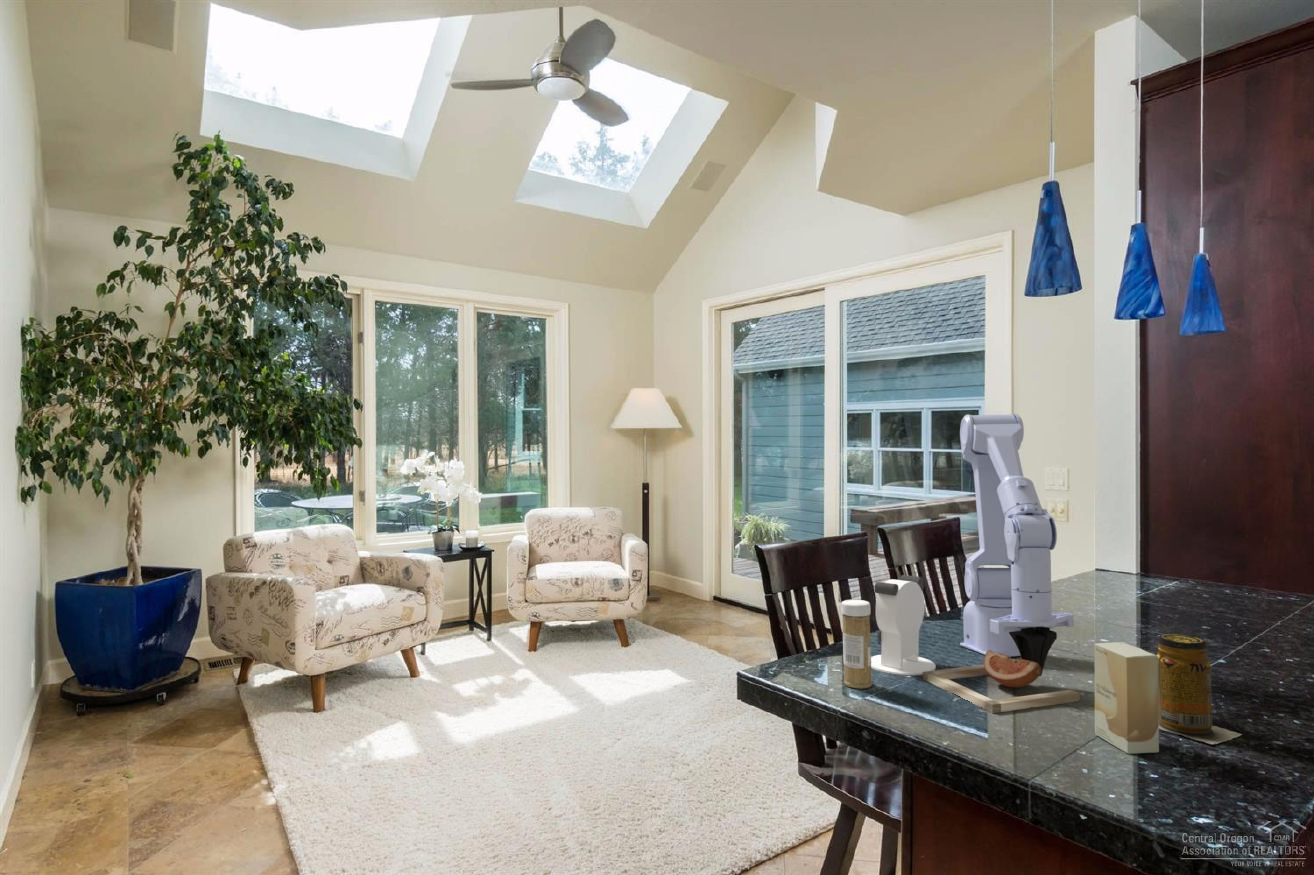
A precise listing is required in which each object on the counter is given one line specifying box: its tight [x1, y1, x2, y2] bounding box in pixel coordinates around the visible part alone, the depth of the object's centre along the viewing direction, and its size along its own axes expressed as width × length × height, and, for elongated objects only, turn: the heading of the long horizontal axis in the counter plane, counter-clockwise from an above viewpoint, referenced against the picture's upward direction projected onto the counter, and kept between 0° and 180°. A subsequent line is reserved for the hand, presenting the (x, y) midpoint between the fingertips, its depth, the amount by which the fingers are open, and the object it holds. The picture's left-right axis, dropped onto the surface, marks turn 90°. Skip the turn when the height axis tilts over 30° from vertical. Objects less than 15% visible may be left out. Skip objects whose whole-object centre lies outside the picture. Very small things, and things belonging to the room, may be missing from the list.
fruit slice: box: [982, 650, 1043, 689], centre depth 113 cm, size 8×7×5 cm
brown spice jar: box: [840, 599, 873, 690], centre depth 116 cm, size 5×5×13 cm
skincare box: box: [1093, 641, 1160, 755], centre depth 92 cm, size 6×4×12 cm
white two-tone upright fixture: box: [871, 574, 937, 676], centre depth 126 cm, size 12×11×15 cm
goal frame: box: [922, 664, 1080, 714], centre depth 112 cm, size 16×16×1 cm
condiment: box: [1156, 633, 1243, 745], centre depth 96 cm, size 7×8×12 cm
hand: (1033, 674), depth 114 cm, fingers closed
